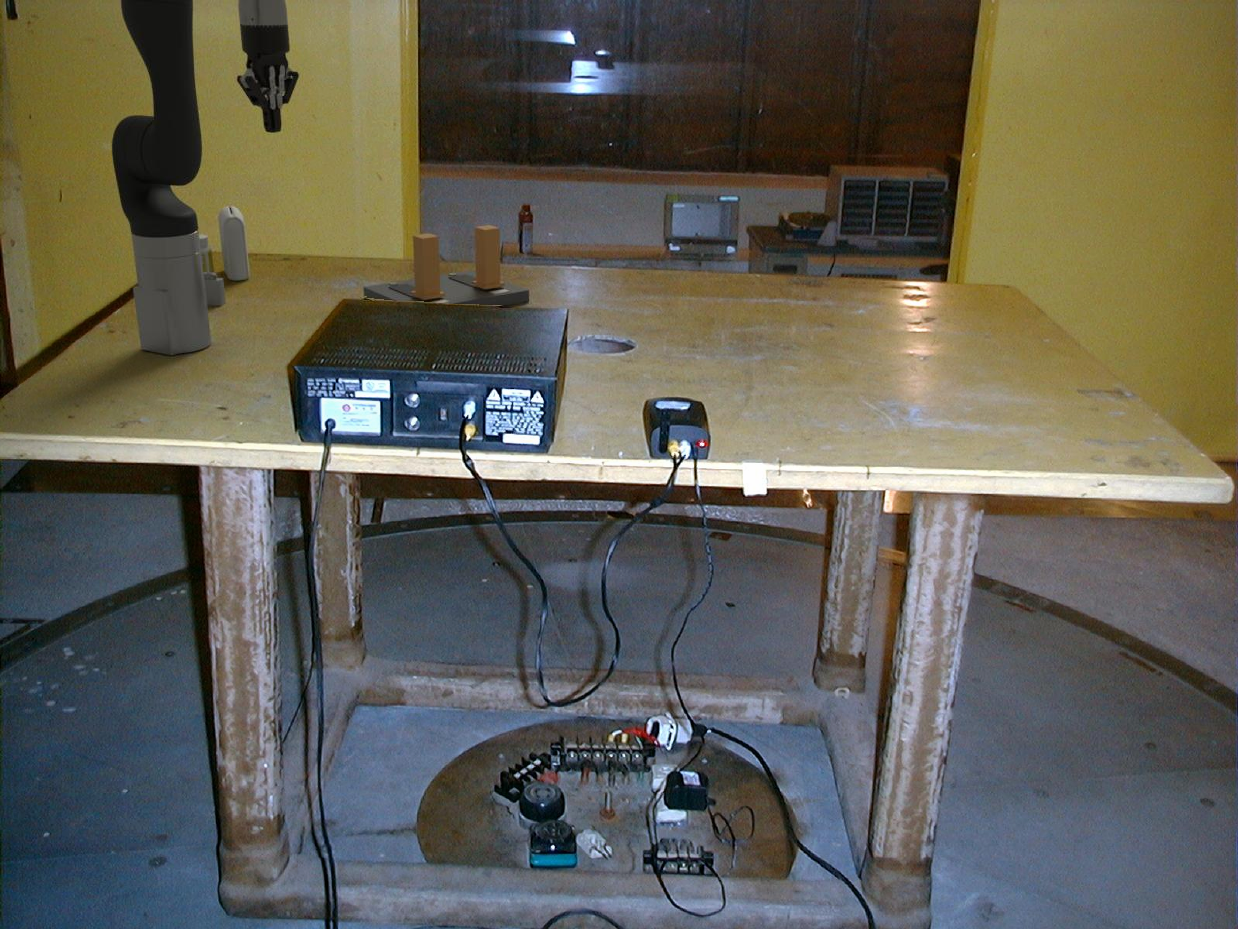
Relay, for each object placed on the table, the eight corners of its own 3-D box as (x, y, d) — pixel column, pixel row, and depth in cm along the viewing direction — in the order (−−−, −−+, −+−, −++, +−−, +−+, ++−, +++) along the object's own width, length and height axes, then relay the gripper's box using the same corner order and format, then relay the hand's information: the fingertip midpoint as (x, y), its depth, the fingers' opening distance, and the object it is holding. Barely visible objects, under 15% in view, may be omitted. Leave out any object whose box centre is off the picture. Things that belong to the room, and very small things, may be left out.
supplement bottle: (204, 278, 220) (198, 232, 217) (220, 282, 218) (215, 236, 215) (181, 283, 217) (175, 236, 213) (198, 288, 214) (192, 240, 211)
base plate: (417, 321, 197) (417, 308, 196) (364, 298, 210) (363, 285, 209) (529, 301, 210) (529, 288, 209) (472, 280, 223) (471, 268, 222)
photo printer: (222, 269, 227) (215, 202, 223) (246, 267, 229) (239, 201, 224) (226, 282, 218) (219, 213, 214) (251, 280, 220) (244, 211, 215)
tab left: (423, 300, 200) (421, 239, 196) (411, 294, 203) (408, 235, 199) (444, 296, 202) (442, 236, 198) (432, 291, 205) (429, 232, 201)
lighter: (226, 303, 205) (221, 256, 202) (221, 305, 204) (216, 258, 201) (186, 300, 206) (180, 254, 203) (181, 303, 205) (175, 256, 202)
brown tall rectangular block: (485, 289, 207) (483, 230, 203) (472, 284, 210) (470, 226, 206) (504, 286, 209) (503, 228, 206) (491, 281, 212) (490, 224, 208)
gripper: (253, 24, 190) (264, 138, 197) (308, 21, 201) (316, 129, 208) (216, 22, 193) (228, 134, 200) (272, 19, 204) (282, 126, 211)
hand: (273, 131), depth 204 cm, fingers closed
